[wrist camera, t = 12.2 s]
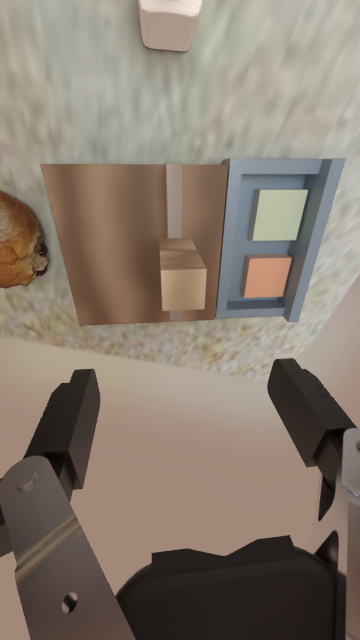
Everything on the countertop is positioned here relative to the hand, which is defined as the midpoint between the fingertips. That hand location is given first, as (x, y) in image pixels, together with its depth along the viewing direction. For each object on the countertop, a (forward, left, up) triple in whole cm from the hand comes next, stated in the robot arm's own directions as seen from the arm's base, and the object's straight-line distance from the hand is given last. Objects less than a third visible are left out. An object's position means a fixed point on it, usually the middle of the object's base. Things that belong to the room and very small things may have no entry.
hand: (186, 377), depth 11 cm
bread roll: (-18, +2, -22) cm, 28 cm away
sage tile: (+12, +4, -19) cm, 23 cm away
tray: (+11, 0, -21) cm, 24 cm away
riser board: (-3, 0, -21) cm, 21 cm away
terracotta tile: (+12, -3, -19) cm, 23 cm away
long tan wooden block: (+1, +1, -17) cm, 17 cm away
